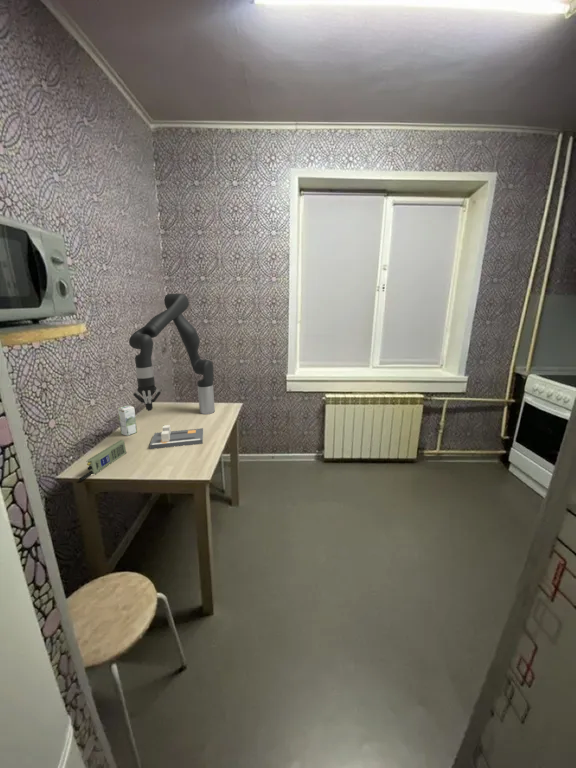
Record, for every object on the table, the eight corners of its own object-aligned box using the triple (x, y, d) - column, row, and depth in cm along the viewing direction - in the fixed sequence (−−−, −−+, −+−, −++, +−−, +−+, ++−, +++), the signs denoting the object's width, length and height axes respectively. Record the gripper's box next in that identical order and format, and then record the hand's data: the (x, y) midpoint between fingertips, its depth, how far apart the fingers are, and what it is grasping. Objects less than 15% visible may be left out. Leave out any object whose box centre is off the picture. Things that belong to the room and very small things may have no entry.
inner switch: (164, 432, 162) (163, 425, 161) (170, 432, 163) (170, 424, 162) (163, 435, 158) (162, 428, 157) (170, 434, 159) (169, 427, 158)
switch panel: (155, 436, 163) (154, 432, 162) (203, 431, 168) (202, 428, 168) (150, 449, 149) (149, 445, 148) (202, 443, 154) (202, 439, 154)
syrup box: (130, 430, 171) (127, 404, 167) (137, 432, 168) (134, 406, 165) (120, 434, 166) (116, 408, 163) (127, 436, 163) (124, 409, 160)
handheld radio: (127, 453, 145) (85, 482, 122) (121, 453, 146) (77, 482, 122) (125, 439, 144) (81, 467, 120) (118, 439, 144) (73, 466, 121)
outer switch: (163, 438, 154) (162, 431, 153) (169, 438, 155) (169, 430, 154) (162, 441, 151) (161, 434, 150) (169, 441, 152) (168, 433, 151)
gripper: (161, 373, 156) (164, 406, 161) (132, 375, 153) (136, 409, 158) (158, 376, 149) (162, 411, 154) (128, 378, 146) (133, 413, 151)
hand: (149, 410), depth 156 cm, fingers closed
